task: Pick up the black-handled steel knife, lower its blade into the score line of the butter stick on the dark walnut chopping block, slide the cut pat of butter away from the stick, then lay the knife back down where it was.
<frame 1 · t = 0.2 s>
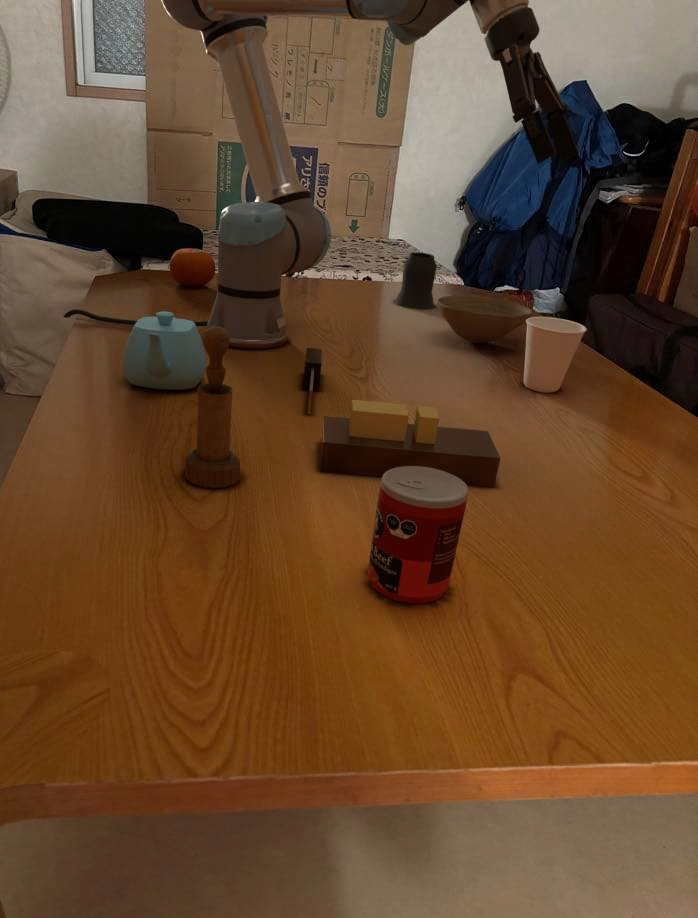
hand: (559, 158, 120), 36 cm above the table, tool tilted 35°, fingers open, 13 cm apart
cup: (540, 388, 135), on the table
mortar and pestle: (212, 478, 94), on the table
bowl: (476, 343, 158), on the table
teapot: (164, 384, 121), on the table
board: (404, 464, 101), on the table
canned food: (406, 585, 76), on the table
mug: (414, 303, 186), on the table
butter slice: (423, 437, 99), point 4 cm above the table, touching board
fruit: (192, 286, 183), on the table
butter: (376, 433, 99), point 4 cm above the table, touching board
knife: (310, 392, 123), on the table
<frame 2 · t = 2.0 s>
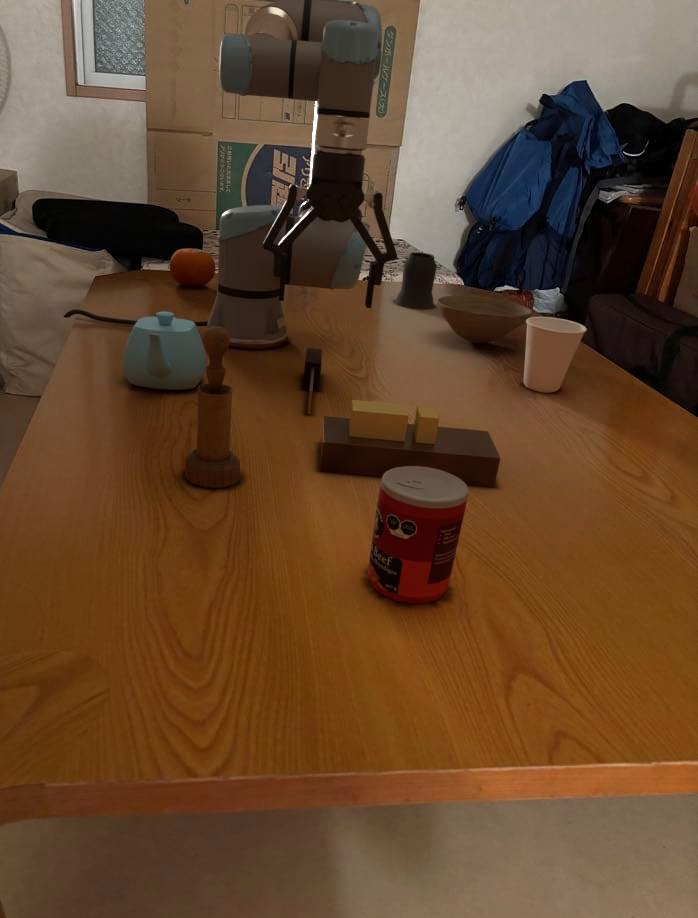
hand: (324, 302, 121), 13 cm above the table, tool pointing down, fingers open, 13 cm apart
nothing on the table moved.
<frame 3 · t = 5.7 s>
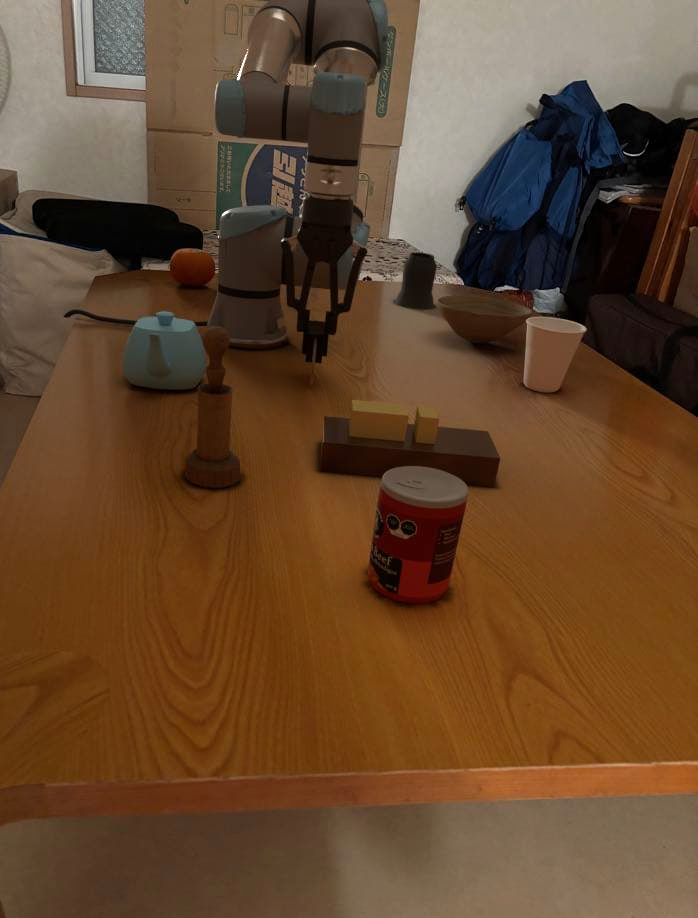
hand: (314, 352, 125), 5 cm above the table, tool pointing down, fingers closed on knife, 3 cm apart
knife: (313, 364, 121), point 5 cm above the table, touching gripper
everything else where it was.
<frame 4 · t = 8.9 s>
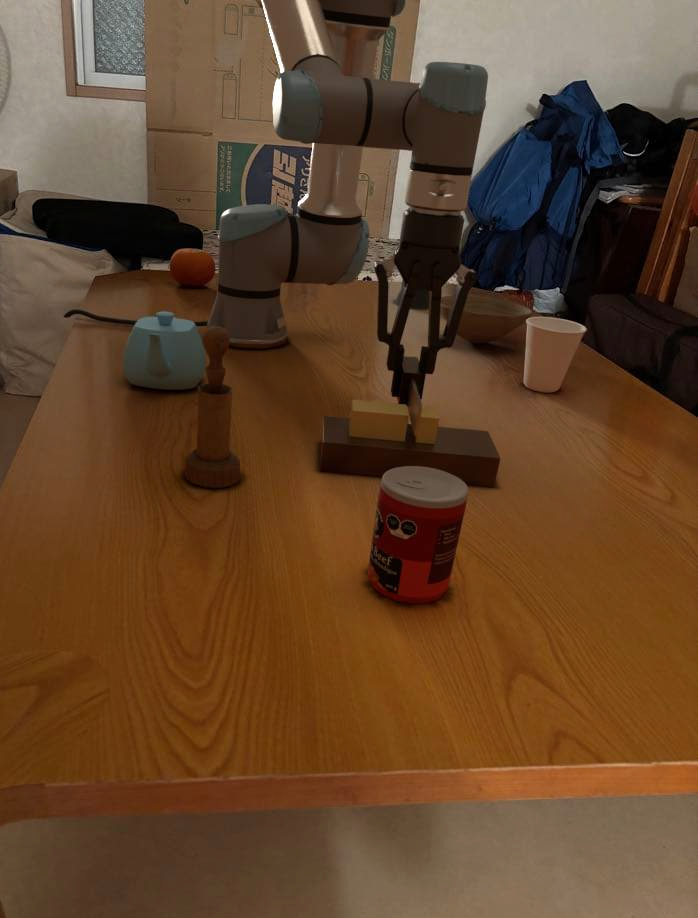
hand: (406, 394, 106), 6 cm above the table, tool pointing down, fingers closed on knife, 3 cm apart
knife: (408, 409, 102), point 6 cm above the table, touching gripper
everything else where it was.
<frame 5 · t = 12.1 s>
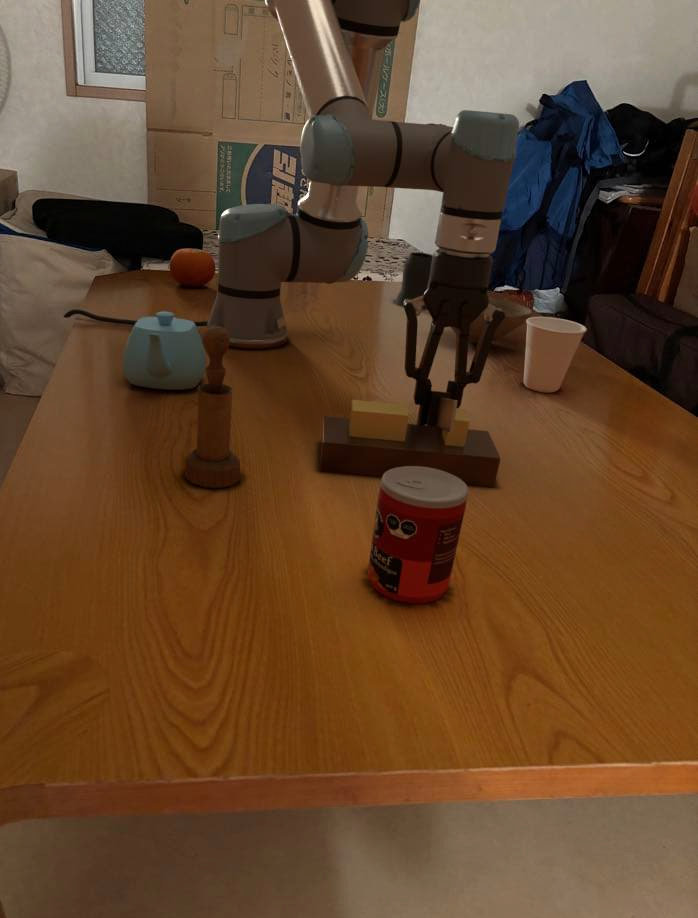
hand: (432, 427, 108), 2 cm above the table, tool pointing down, fingers closed on knife, 3 cm apart
butter slice: (452, 440, 99), point 4 cm above the table, touching board, knife
knife: (438, 427, 103), point 4 cm above the table, tilted 17°, touching board, butter slice, gripper
everything else where it was.
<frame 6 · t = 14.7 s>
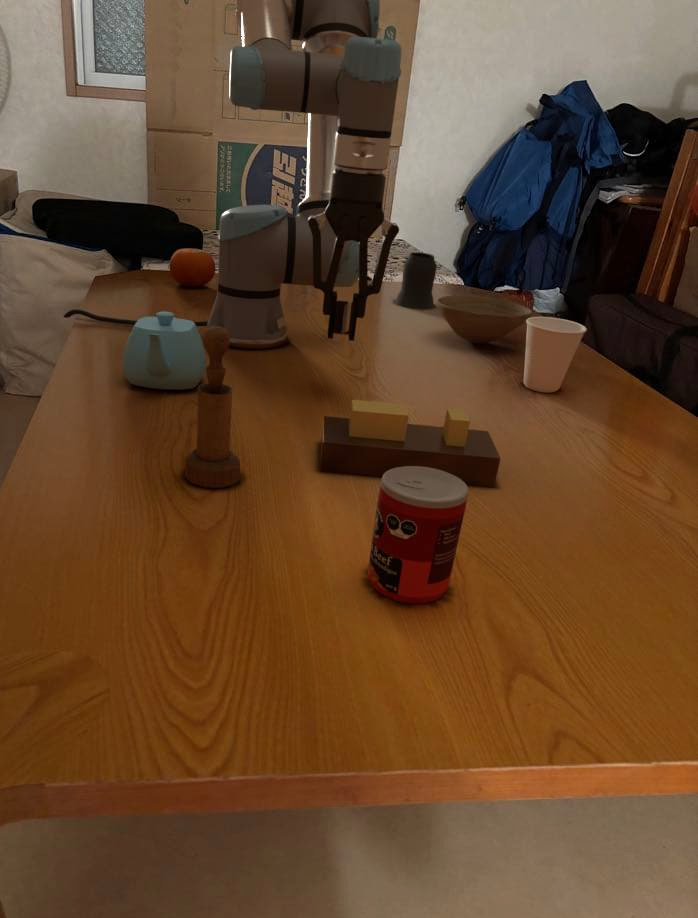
hand: (340, 336, 120), 9 cm above the table, tool pointing down, fingers closed on knife, 3 cm apart
butter slice: (453, 440, 99), point 4 cm above the table, touching board
knife: (343, 333, 114), point 11 cm above the table, tilted 16°, touching gripper
everything else where it was.
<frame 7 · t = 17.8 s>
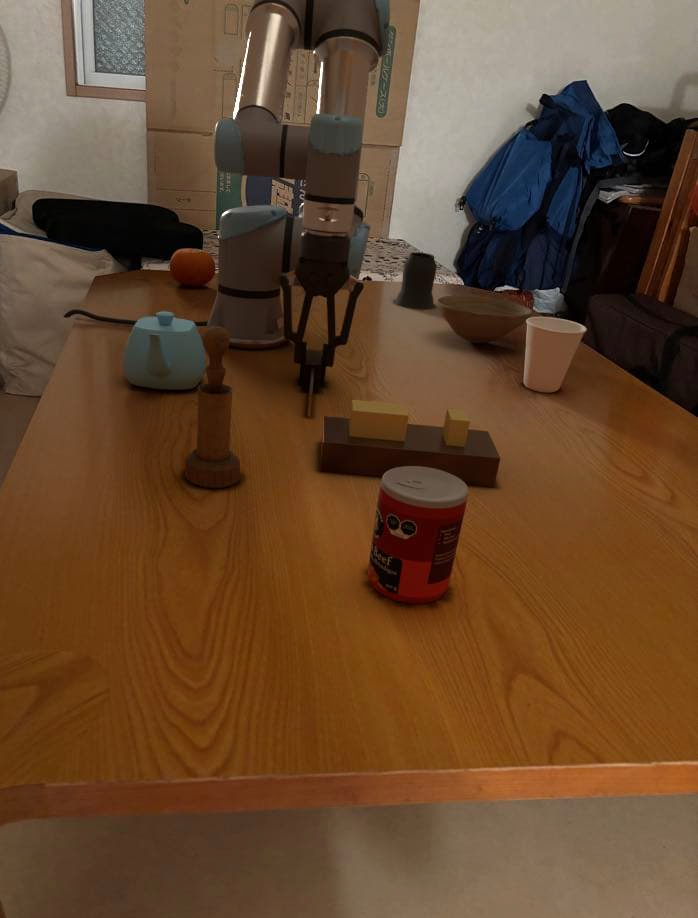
hand: (311, 383, 127), 0 cm above the table, tool pointing down, fingers closed on knife, 3 cm apart
knife: (310, 394, 122), on the table, touching gripper
everything else where it was.
when the fingers open (0 cm above the table, at t = 18.7 s): knife stays where it is, on the table.
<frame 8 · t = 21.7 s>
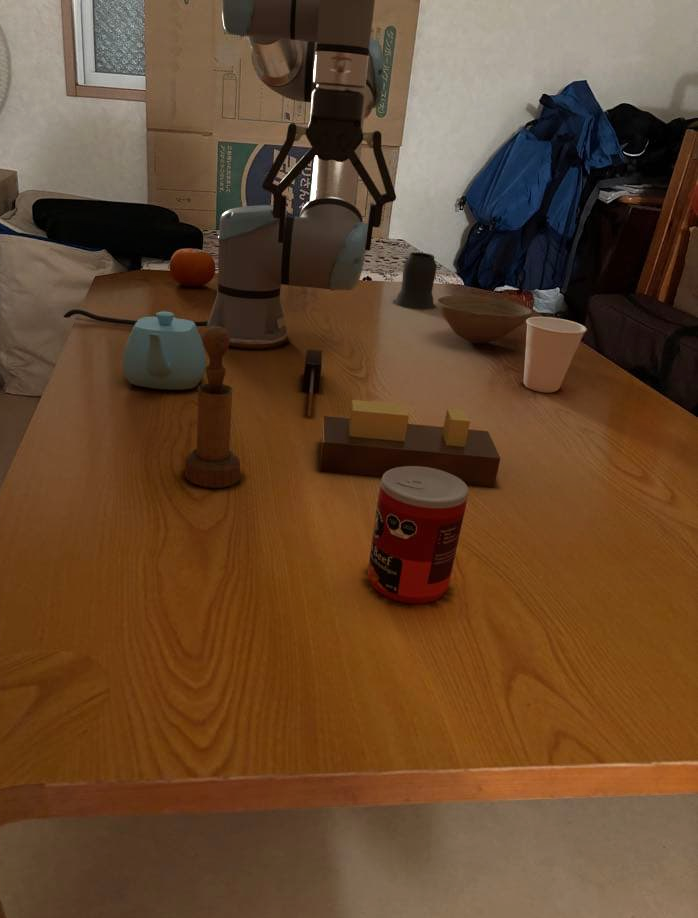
hand: (324, 245, 121), 21 cm above the table, tool pointing down, fingers open, 13 cm apart
knife: (310, 394, 122), on the table
everything else where it was.
at the end: butter slice moved 3.8 cm from its start; butter slice touching board; knife inside the target area (0.9 cm from its centre), on the table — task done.
